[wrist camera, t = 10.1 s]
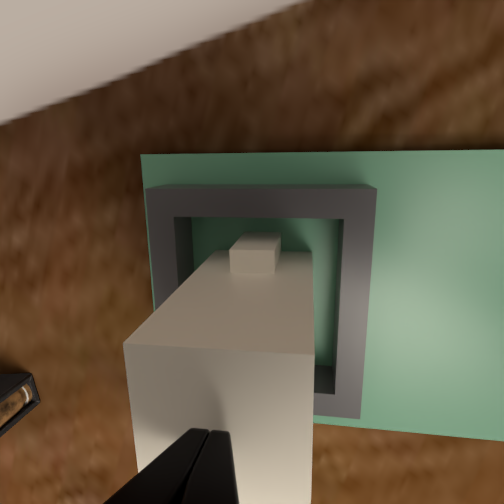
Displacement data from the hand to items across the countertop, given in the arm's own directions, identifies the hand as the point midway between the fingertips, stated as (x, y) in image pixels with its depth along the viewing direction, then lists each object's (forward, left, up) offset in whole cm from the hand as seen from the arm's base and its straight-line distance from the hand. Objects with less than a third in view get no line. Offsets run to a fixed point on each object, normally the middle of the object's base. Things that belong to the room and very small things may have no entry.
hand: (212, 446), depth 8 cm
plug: (0, +1, -8) cm, 8 cm away
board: (-4, 0, -9) cm, 10 cm away
